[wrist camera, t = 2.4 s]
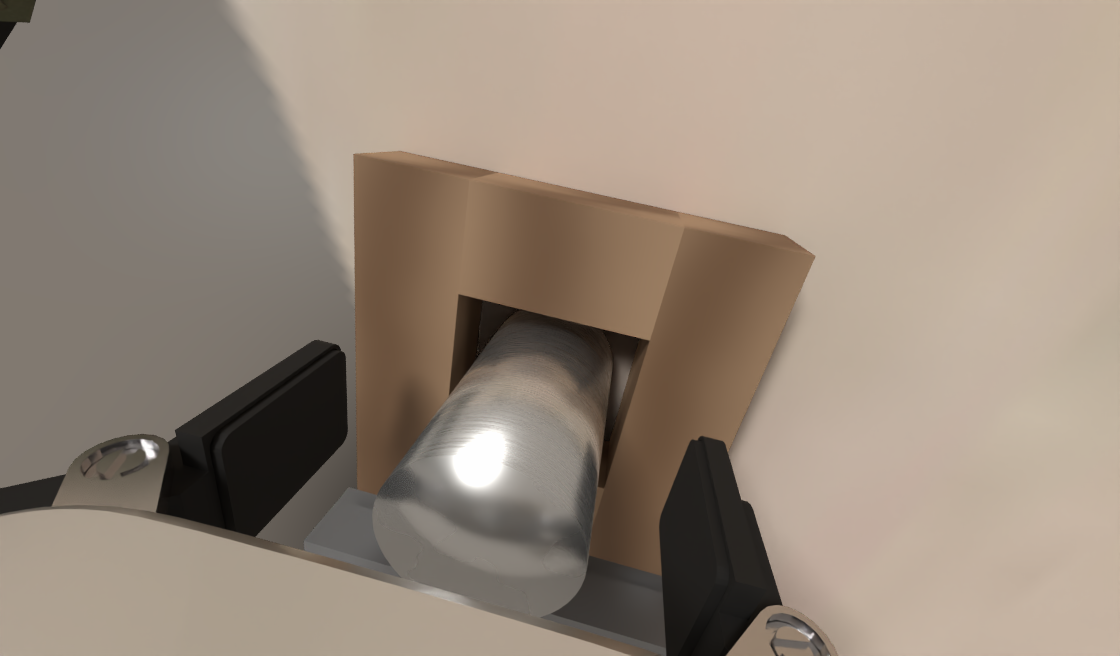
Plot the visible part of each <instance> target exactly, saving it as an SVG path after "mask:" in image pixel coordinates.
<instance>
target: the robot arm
mask: <svg viewBox="0 0 1120 656" xmlns="http://www.w3.org/2000/svg"><path fill="white" fill-rule="evenodd" d="M175 432H176V437H175V438H173V439H172V440H170V441H169V442H167V441H166V440H165V439H163V438H161V437H158V436H156V435H146V434H140V435H139V434H138V435H128V436H124V437H119V438H115V439H112V440H109V441H106V442H104V443H100V444H98V445H96V446H94V447H92V448H90V449H89V450H87V451H85V452H84V453H82V454H81V455H80V456H78V458H76V459H75V460H74V461H73V463H72V464H71V465H70V467H69V469H68V471H67V473H66V474H65V475H60V476H56V477H51V478H47V479H42V480H37V481H33V482H29V483H24V484H19V485H15V486H10V487H6V488H0V656H662V655H659V654H657V653H654V652H651V651H648V650H645V649H642V648H639V647H636V646H632V645H629V644H626V643H623V642H619V641H616V640H613V639H610V638H606V637H603V636H600V635H597V634H593V633H590V632H587V631H584V630H580V629H577V628H574V627H570V626H567V625H563V624H560V623H556V622H553V621H550V620H546V619H543V618H539V617H536V616H532V615H529V614H525V613H522V612H518V611H515V610H512V609H508V608H505V607H501V606H498V605H494V604H491V603H487V602H484V601H480V600H477V599H474V598H470V597H467V596H463V595H459V594H456V593H452V592H449V591H445V590H442V589H438V588H435V587H431V586H428V585H424V584H421V583H417V582H414V581H410V580H407V579H403V578H400V577H396V576H392V575H389V574H385V573H382V572H378V571H375V570H371V569H368V568H364V567H361V566H357V565H353V564H350V563H346V562H343V561H339V560H336V559H332V558H328V557H325V556H321V555H317V554H314V553H310V552H307V551H303V550H299V549H296V548H292V547H288V546H285V545H281V544H278V543H273V542H270V541H267V540H263V539H260V538H256V537H255V536H256V535H257V534H258V533H259V532H260V531H261V530H262V529H263V528H264V527H265V526H266V525H267V524H268V523H269V522H270V521H271V519H272V518H273V517H274V516H275V515H276V514H277V513H278V512H279V511H280V510H281V509H282V508H283V507H284V506H285V505H286V504H287V502H288V501H289V500H290V499H291V498H292V497H293V496H294V495H295V494H296V493H297V492H298V491H299V489H301V488H302V487H303V485H304V484H305V483H306V482H307V481H308V480H309V479H310V478H311V477H312V476H313V475H314V474H315V473H316V472H317V471H318V470H319V468H320V467H321V466H322V465H323V464H324V463H325V462H326V461H327V460H328V459H329V458H330V457H331V456H332V455H333V454H334V453H335V451H336V450H337V449H338V448H339V447H340V446H341V445H342V444H343V442H344V441H345V439H346V436H347V432H348V425H347V388H346V357H345V354H344V352H342V351H341V349H340V347H339V346H338V345H336V344H332V343H328V342H324V341H320V340H314V341H312V342H311V343H309V344H307V345H306V346H304V347H303V348H301V349H300V350H298V351H297V352H295V353H293V354H292V355H290V356H289V357H287V358H286V359H284V360H283V361H281V362H280V363H278V364H276V365H275V366H273V367H272V368H270V369H269V370H267V371H266V372H264V373H263V374H261V375H260V376H258V377H256V378H255V379H253V380H252V381H250V382H249V383H247V384H246V385H244V386H243V387H241V388H239V389H238V390H236V391H235V392H233V393H232V394H230V395H229V396H227V397H225V398H224V399H222V400H221V401H219V402H218V403H216V404H215V405H213V406H212V407H210V408H208V409H207V410H205V411H204V412H202V413H201V414H199V415H198V416H196V417H195V418H193V419H192V420H190V421H188V422H187V423H185V424H184V425H182V426H181V427H179V428H178V429H176V430H175ZM659 537H660V554H661V571H662V589H663V606H664V623H665V640H666V656H838V654H837V652H836V650H835V647H834V646H833V644H832V643H831V641H830V640H829V638H828V637H827V636H826V634H825V633H824V632H823V631H822V630H821V629H820V628H819V627H818V626H817V625H816V624H815V623H814V622H813V621H812V620H810V619H809V618H807V617H806V616H805V615H803V614H802V613H800V612H798V611H796V610H794V609H792V608H789V607H785V606H783V605H782V602H781V599H780V595H779V592H778V589H777V586H776V583H775V579H774V576H773V573H772V570H771V566H770V563H769V560H768V557H767V553H766V550H765V547H764V544H763V541H762V537H761V534H760V531H759V528H758V524H757V521H756V518H755V515H754V511H753V509H752V507H751V505H750V504H749V503H748V502H746V501H743V500H741V497H740V494H739V490H738V487H737V483H736V480H735V476H734V473H733V469H732V466H731V462H730V459H729V455H728V452H727V448H726V445H725V443H724V442H723V441H721V440H717V439H713V438H709V437H705V436H700V437H699V438H698V440H693V439H692V440H691V441H690V442H689V445H688V447H687V450H686V452H685V455H684V457H683V460H682V462H681V465H680V467H679V470H678V472H677V475H676V477H675V480H674V482H673V485H672V488H671V490H670V493H669V495H668V498H667V500H666V503H665V505H664V508H663V510H662V513H661V516H660V521H659Z"/></svg>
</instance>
